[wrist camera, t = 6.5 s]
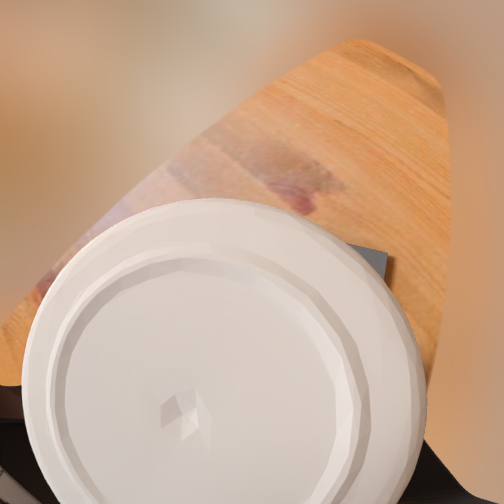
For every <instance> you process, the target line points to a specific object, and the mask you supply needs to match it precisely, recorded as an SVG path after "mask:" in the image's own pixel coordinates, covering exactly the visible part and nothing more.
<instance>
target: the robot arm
mask: <svg viewBox="0 0 504 504" xmlns="http://www.w3.org/2000/svg"><path fill="white" fill-rule="evenodd" d="M0 504H61V503H60V502H59V501H58V499H57V498H56V496H55V494H54V493H53V491H52V490H51V488H50V486H49V485H48V483H47V481H46V479H45V478H44V475H43V473H42V471H41V469H40V467H39V465H38V463H37V460H36V457H35V455H34V452H33V449H32V447H31V444H30V441H29V437H28V433H27V429H26V424H25V418H24V410H23V401H22V385H20V386H2V385H0ZM397 504H497V503H494V502H490V501H487V500H484V499H481V498H478V497H475V496H474V495H472V494H470V493H469V492H468V491H466V490H465V489H464V488H463V487H462V486H461V485H460V484H459V483H458V481H457V480H456V479H455V478H454V476H453V475H452V474H451V473H450V471H449V470H448V469H447V468H446V467H445V465H444V464H443V463H442V462H441V460H440V459H439V458H438V457H437V456H436V454H435V453H434V452H433V451H432V449H431V448H430V447H429V446H428V444H427V443H426V441H425V440H424V439H423V443H422V447H421V450H420V454H419V457H418V460H417V464H416V467H415V470H414V472H413V475H412V477H411V479H410V481H409V483H408V485H407V487H406V489H405V490H404V492H403V494H402V496H401V497H400V499H399V501H398V502H397Z"/></svg>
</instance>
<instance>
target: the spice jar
mask: <svg viewBox="0 0 504 504" xmlns="http://www.w3.org/2000/svg"><path fill="white" fill-rule="evenodd" d="M22 401H23V410H24V418H25V424H26V429H27V433H28V437H29V441H30V444H31V447H32V449H33V452H34V455H35V457H36V460H37V463H38V465H39V467H40V469H41V471H42V473H43V475H44V478H45V479H46V481H47V483H48V485H49V486H50V488H51V490H52V491H53V493H54V494H55V496H56V498H57V499H58V501H59V502H60V503H61V504H397V502H398V501H399V499H400V497H401V496H402V494H403V492H404V490H405V489H406V487H407V485H408V483H409V481H410V479H411V477H412V475H413V472H414V470H415V467H416V464H417V460H418V457H419V454H420V450H421V447H422V443H423V439H424V433H425V426H426V416H427V393H426V380H425V374H424V368H423V362H422V357H421V354H420V351H419V347H418V344H417V341H416V338H415V335H414V332H413V330H412V328H411V325H410V323H409V321H408V319H407V317H406V315H405V313H404V311H403V309H402V307H401V305H400V304H399V302H398V301H397V299H396V298H395V296H394V295H393V293H392V292H391V290H390V289H389V287H388V286H387V285H386V283H385V282H384V280H383V279H382V278H381V276H380V275H379V274H378V273H377V272H376V270H375V269H374V268H373V267H372V266H371V265H370V264H369V263H368V262H367V261H366V260H365V259H364V258H363V257H362V256H361V255H360V253H358V252H357V251H356V250H355V249H353V248H352V247H351V246H349V245H347V244H346V243H344V242H343V241H342V240H341V239H340V238H338V237H337V236H335V235H334V234H332V233H330V232H329V231H327V230H326V229H324V228H323V227H321V226H319V225H317V224H315V223H314V222H312V221H310V220H308V219H305V218H303V217H301V216H298V215H296V214H293V213H291V212H288V211H285V210H282V209H279V208H276V207H273V206H270V205H266V204H261V203H257V202H252V201H245V200H238V199H226V198H205V199H192V200H182V201H178V202H174V203H170V204H166V205H162V206H158V207H154V208H151V209H148V210H146V211H143V212H141V213H138V214H136V215H134V216H131V217H129V218H127V219H125V220H123V221H121V222H119V223H118V224H116V225H114V226H112V227H111V228H109V229H107V230H106V231H104V232H103V233H101V234H100V235H99V236H97V237H96V238H94V239H93V240H91V241H90V242H89V243H88V244H87V245H86V246H84V247H83V248H82V249H81V250H80V251H79V252H78V253H77V254H76V255H75V256H74V257H73V258H72V259H71V260H70V261H69V263H68V264H67V265H66V266H65V267H64V268H63V269H62V271H61V272H60V273H59V275H58V276H57V278H56V279H55V281H54V282H53V284H52V285H51V287H50V288H49V290H48V292H47V294H46V295H45V297H44V299H43V301H42V303H41V305H40V307H39V309H38V311H37V314H36V316H35V319H34V321H33V324H32V327H31V330H30V333H29V337H28V340H27V344H26V349H25V354H24V360H23V369H22Z"/></svg>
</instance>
